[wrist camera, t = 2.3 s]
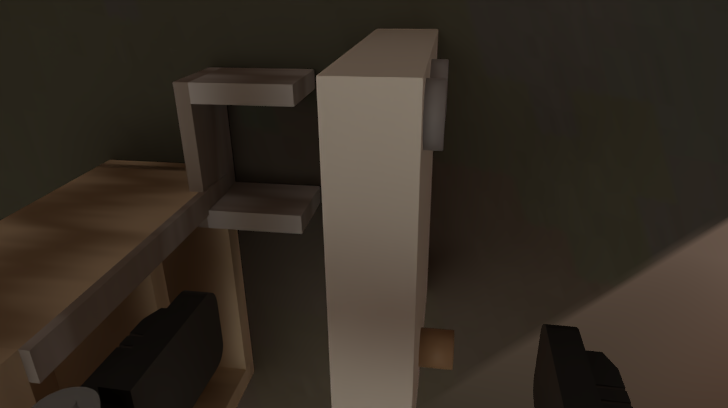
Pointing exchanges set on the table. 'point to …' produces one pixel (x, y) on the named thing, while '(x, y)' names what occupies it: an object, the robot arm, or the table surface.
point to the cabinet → (144, 245)
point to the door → (381, 214)
